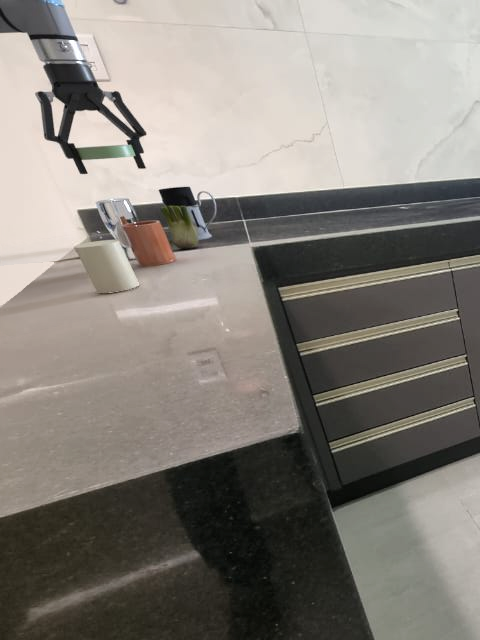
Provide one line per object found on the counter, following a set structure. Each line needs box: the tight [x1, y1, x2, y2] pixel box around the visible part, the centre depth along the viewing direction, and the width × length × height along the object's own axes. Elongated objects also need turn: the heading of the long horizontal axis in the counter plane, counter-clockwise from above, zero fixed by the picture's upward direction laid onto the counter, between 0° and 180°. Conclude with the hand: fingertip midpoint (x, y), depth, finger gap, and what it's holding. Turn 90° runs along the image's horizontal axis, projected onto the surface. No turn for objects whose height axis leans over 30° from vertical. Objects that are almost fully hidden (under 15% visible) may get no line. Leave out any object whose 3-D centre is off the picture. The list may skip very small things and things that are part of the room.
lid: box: [76, 144, 136, 161], centre depth 123 cm, size 10×10×2 cm
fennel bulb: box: [160, 206, 199, 250], centre depth 148 cm, size 6×5×12 cm
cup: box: [121, 220, 177, 267], centre depth 134 cm, size 7×7×10 cm
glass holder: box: [158, 186, 217, 241], centre depth 161 cm, size 9×14×15 cm, turn 96°
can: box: [73, 239, 140, 294], centre depth 113 cm, size 7×7×10 cm
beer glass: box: [94, 197, 140, 261], centre depth 140 cm, size 7×7×15 cm
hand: (114, 171), depth 125 cm, fingers closed on lid, 10 cm apart
